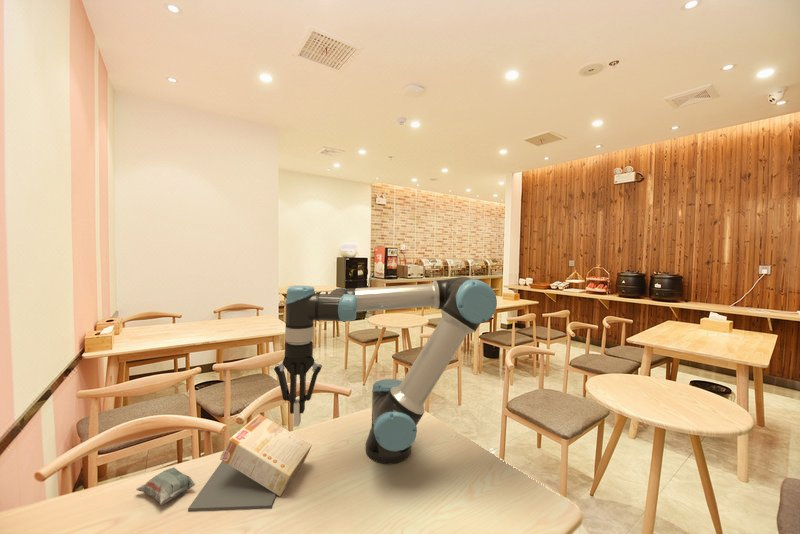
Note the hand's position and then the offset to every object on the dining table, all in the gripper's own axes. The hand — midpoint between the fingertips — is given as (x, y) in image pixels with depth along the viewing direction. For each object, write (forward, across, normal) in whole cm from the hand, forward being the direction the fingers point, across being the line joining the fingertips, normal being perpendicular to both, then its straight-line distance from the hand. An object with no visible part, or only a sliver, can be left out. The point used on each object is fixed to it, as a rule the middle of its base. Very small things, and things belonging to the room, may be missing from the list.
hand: (297, 423), depth 94 cm
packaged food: (+17, +33, +4) cm, 37 cm away
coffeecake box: (+14, 0, 0) cm, 14 cm away
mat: (+17, +14, 0) cm, 22 cm away
